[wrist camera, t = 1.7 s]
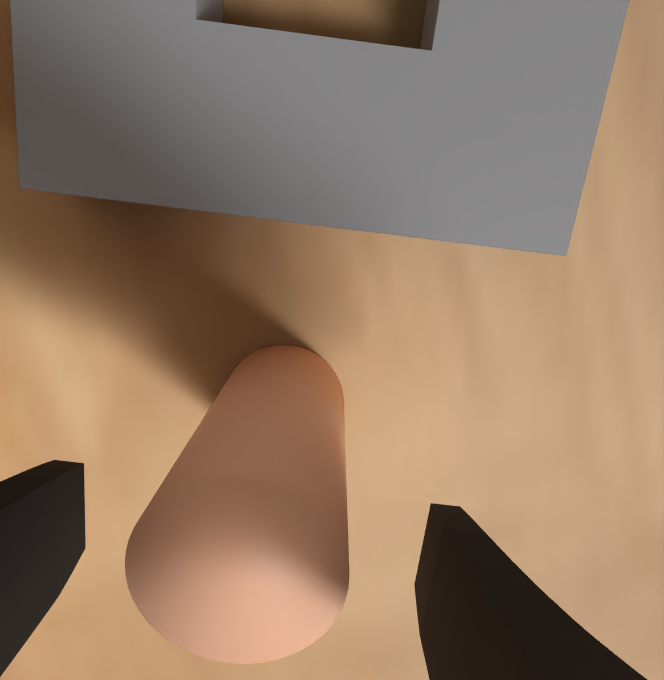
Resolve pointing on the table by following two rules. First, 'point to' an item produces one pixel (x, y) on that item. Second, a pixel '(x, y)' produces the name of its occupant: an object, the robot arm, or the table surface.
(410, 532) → the table surface
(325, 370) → the peg
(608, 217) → the table surface
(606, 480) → the table surface
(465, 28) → the hole board
